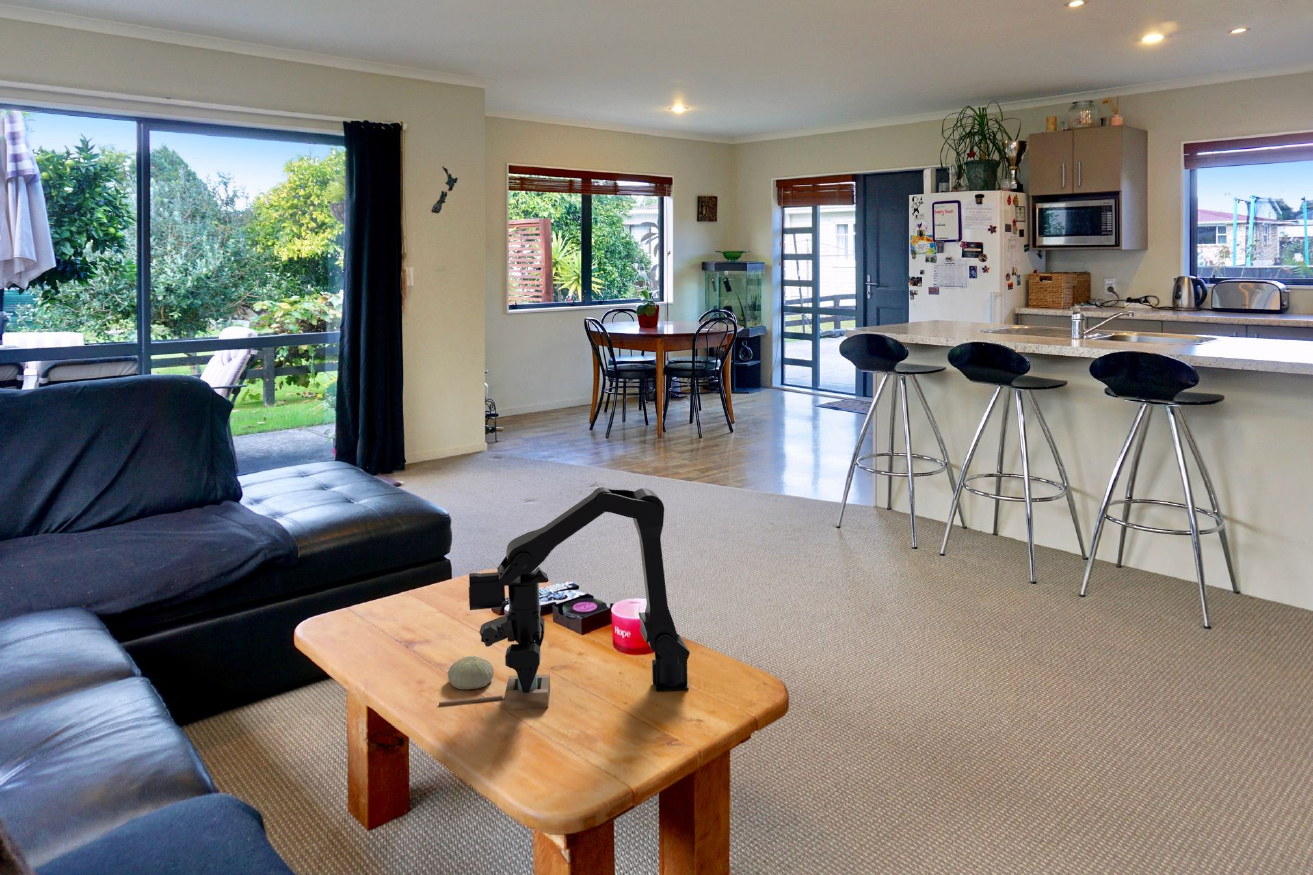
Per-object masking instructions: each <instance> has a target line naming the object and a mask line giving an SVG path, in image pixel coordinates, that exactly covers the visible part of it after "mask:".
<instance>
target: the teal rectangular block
mask: <svg viewBox="0 0 1313 875" xmlns="http://www.w3.org/2000/svg"><path fill="white" fill-rule="evenodd" d="M537 675H538V671H537V672H536V675H535V677H534V680H533V683H532V685H531V688H530V690H535V689H538V682H537ZM518 690H522V688H521V684H520V681H519V678H518Z"/></svg>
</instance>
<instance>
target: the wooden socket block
mask: <svg viewBox="0 0 1313 875" xmlns="http://www.w3.org/2000/svg"><path fill="white" fill-rule="evenodd" d="M537 682H538V689H535V690H530V691H529V693H523V691H522V690H518V675H508V679H507V682H506V683H507V684H506V687H505V691H504V705H505V710H506V711H510V710H512V711H515V710H535V709H537V710H538V709H549V704H550V695H551V675H550V673H547V674H545V673H543V674H537Z"/></svg>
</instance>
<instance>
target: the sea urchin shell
mask: <svg viewBox="0 0 1313 875" xmlns="http://www.w3.org/2000/svg"><path fill="white" fill-rule="evenodd" d="M494 674H495V672H494V667H493V664H492V663H491V662H490V661H489V660H487V659H485V658H483V657H481V656H480V657H479V656H476V655H474V656H473V655H468V656H465V657H462V658H460V659H458V660H456V661H455V662H453V663H452V664H451V666H450V667H449V669H448V672H447V678H448V681H449V683H450V684H451V685H452V686H453V687H454V688H456V689H458V690H477V689H480V688H484V687H485V686H487V685H488V684H490V682H491V681H492V679H493V678H494Z"/></svg>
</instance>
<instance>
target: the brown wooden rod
mask: <svg viewBox="0 0 1313 875" xmlns="http://www.w3.org/2000/svg"><path fill="white" fill-rule="evenodd" d="M503 698H504V697H503V695H495V696H493V695H492V696H486V697H485V696H483V697H476V698H475V697H474V698H467V699H466V698H465V699H456V700H455V699H454V700H445V701H439V702H438V706H440V707H442V706H451V705H462V704H469V703H480V702H489V701H498V700H504V699H503Z"/></svg>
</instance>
